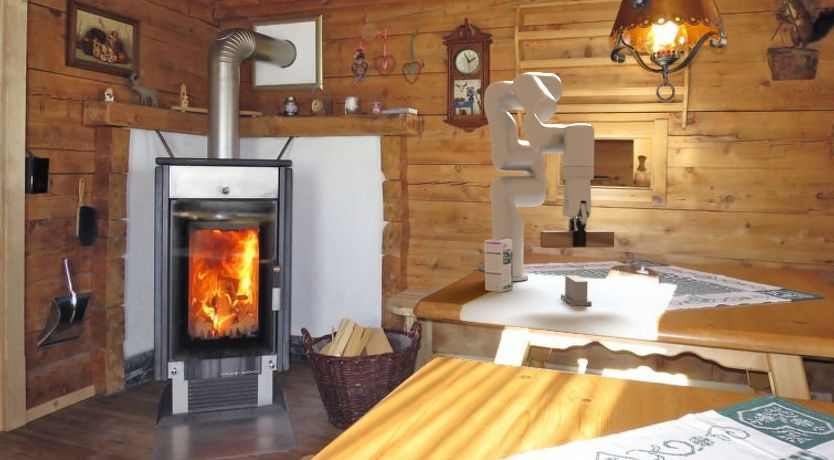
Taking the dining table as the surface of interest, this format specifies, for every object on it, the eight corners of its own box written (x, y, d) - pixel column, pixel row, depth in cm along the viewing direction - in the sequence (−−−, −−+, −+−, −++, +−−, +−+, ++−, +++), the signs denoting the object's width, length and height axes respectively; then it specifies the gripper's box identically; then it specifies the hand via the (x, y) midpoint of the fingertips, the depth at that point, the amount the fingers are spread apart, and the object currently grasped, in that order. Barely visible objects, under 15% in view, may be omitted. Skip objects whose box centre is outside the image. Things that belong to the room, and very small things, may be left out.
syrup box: (502, 292, 195) (503, 240, 193) (484, 290, 198) (484, 238, 197) (512, 289, 199) (513, 238, 198) (494, 287, 203) (495, 237, 202)
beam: (540, 246, 182) (540, 230, 181) (609, 245, 183) (609, 230, 182) (543, 247, 178) (543, 231, 178) (614, 247, 179) (614, 231, 179)
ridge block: (560, 297, 187) (561, 275, 186) (579, 297, 187) (579, 275, 187) (571, 305, 176) (572, 282, 176) (591, 305, 176) (592, 281, 176)
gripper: (555, 173, 187) (554, 242, 188) (572, 173, 170) (570, 249, 172) (583, 173, 187) (582, 242, 189) (603, 173, 171) (601, 249, 172)
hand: (577, 245), depth 180 cm, fingers closed on beam, 3 cm apart
